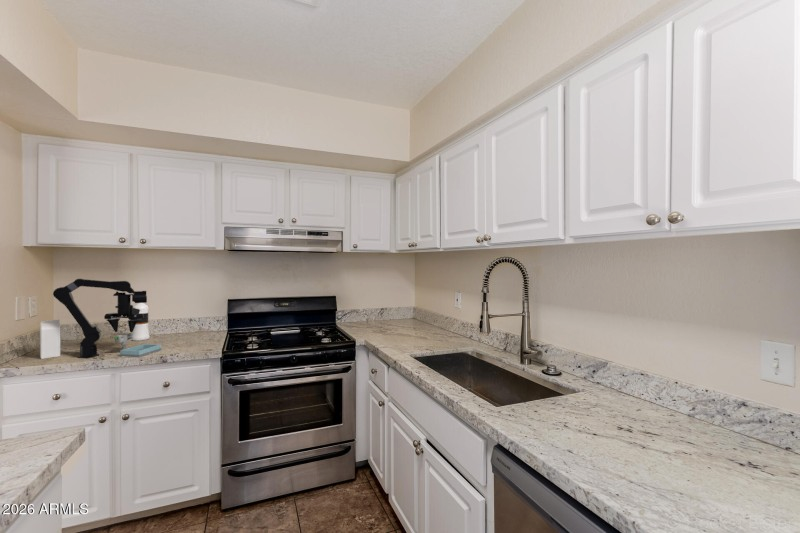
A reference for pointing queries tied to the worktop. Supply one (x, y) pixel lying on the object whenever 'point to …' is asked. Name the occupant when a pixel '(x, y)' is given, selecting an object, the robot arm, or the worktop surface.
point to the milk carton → (50, 339)
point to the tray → (140, 350)
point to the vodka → (141, 324)
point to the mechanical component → (123, 339)
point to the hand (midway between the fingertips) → (123, 332)
